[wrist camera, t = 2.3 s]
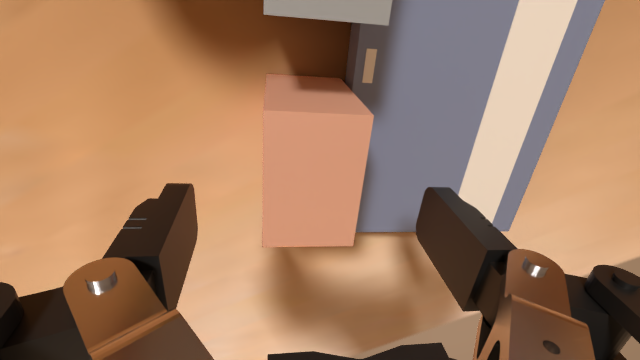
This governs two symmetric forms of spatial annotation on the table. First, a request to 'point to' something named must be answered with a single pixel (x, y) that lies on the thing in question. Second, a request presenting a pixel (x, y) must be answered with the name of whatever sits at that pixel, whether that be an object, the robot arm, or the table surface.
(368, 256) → the table surface
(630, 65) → the table surface
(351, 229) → the stub terracotta
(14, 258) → the table surface
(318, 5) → the stub grey
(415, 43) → the ticket slab
